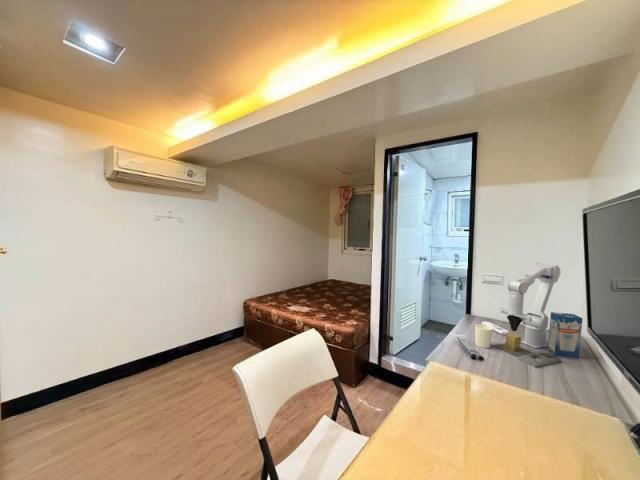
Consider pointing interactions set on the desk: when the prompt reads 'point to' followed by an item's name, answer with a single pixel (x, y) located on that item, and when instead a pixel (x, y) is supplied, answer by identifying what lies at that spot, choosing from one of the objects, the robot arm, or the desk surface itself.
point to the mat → (515, 353)
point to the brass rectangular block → (513, 342)
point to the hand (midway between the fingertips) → (514, 330)
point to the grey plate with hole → (543, 356)
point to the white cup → (483, 335)
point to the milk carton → (565, 335)
